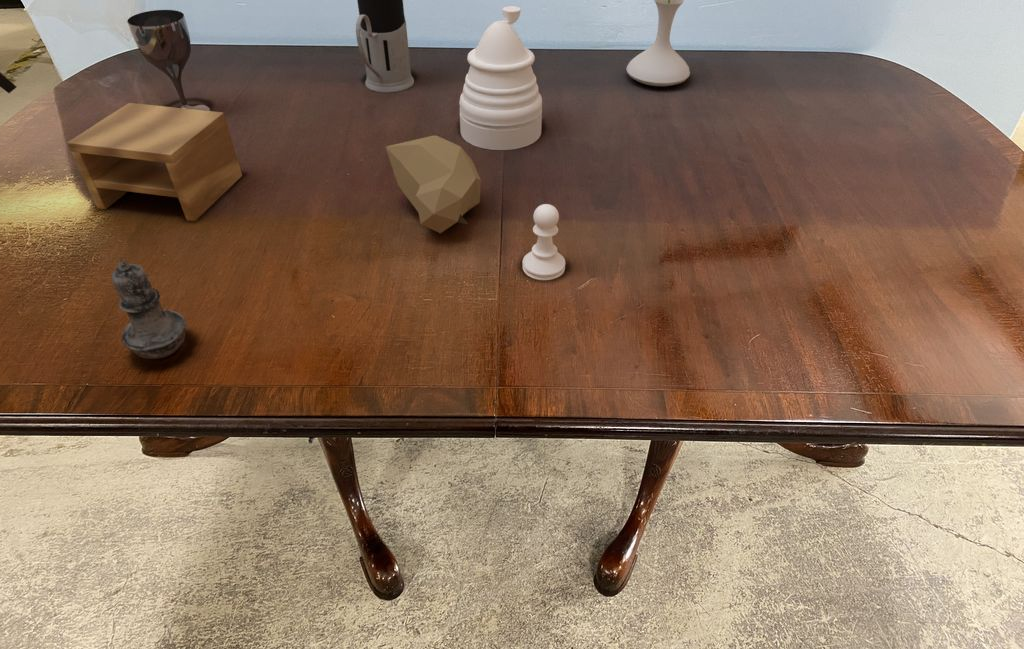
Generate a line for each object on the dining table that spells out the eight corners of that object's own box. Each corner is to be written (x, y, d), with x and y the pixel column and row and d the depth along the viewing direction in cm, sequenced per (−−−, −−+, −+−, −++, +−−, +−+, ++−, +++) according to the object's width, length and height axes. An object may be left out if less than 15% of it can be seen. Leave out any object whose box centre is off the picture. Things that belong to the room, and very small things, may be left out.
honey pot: (509, 107, 113) (510, -8, 101) (557, 135, 105) (564, 14, 93) (445, 127, 107) (437, 8, 95) (491, 158, 99) (489, 32, 87)
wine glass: (173, 102, 113) (141, 9, 103) (220, 103, 113) (192, 10, 103) (153, 123, 107) (117, 26, 97) (201, 124, 107) (170, 27, 97)
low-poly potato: (418, 186, 94) (353, 179, 84) (456, 120, 89) (392, 105, 79) (480, 257, 88) (418, 258, 79) (525, 192, 83) (464, 184, 74)
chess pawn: (537, 254, 81) (540, 189, 75) (572, 269, 79) (578, 203, 73) (513, 275, 78) (514, 209, 72) (549, 291, 76) (553, 224, 70)
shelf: (99, 213, 87) (66, 142, 81) (154, 169, 96) (128, 102, 89) (196, 226, 85) (170, 154, 79) (243, 180, 94) (223, 112, 87)
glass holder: (421, 75, 123) (413, -13, 113) (392, 107, 112) (380, 13, 102) (376, 71, 124) (365, -17, 114) (344, 101, 114) (328, 8, 104)
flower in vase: (636, 64, 128) (656, -87, 111) (695, 74, 124) (724, -80, 107) (613, 88, 119) (631, -72, 102) (676, 100, 115) (704, -64, 99)
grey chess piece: (141, 385, 65) (89, 288, 57) (129, 349, 68) (79, 254, 60) (203, 361, 67) (162, 265, 59) (188, 328, 71) (148, 234, 63)
